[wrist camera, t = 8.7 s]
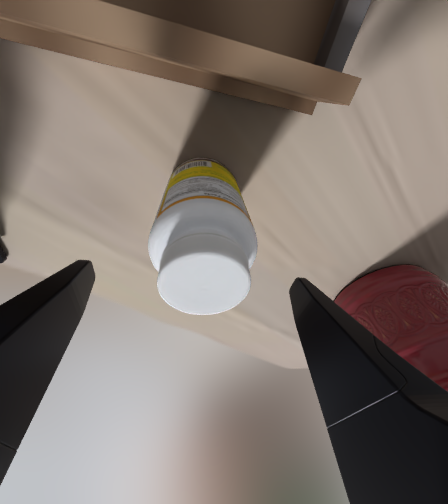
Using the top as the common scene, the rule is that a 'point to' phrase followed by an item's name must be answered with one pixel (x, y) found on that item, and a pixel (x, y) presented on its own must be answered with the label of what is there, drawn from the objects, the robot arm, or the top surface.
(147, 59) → the wooden tray
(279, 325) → the top surface
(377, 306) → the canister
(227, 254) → the supplement bottle
